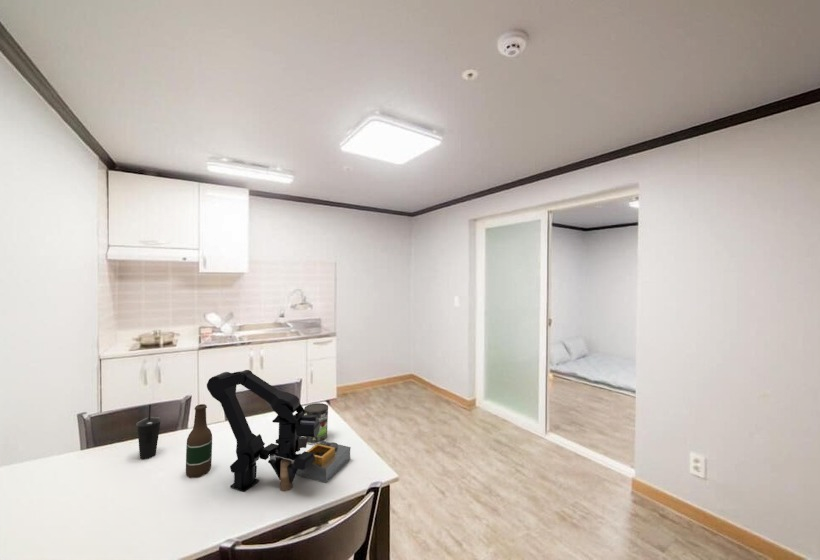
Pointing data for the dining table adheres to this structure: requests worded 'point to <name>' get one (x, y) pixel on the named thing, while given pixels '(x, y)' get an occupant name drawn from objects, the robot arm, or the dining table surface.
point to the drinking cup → (148, 435)
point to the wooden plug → (285, 475)
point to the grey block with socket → (326, 461)
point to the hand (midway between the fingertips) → (286, 481)
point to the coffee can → (322, 414)
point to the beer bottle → (199, 445)
